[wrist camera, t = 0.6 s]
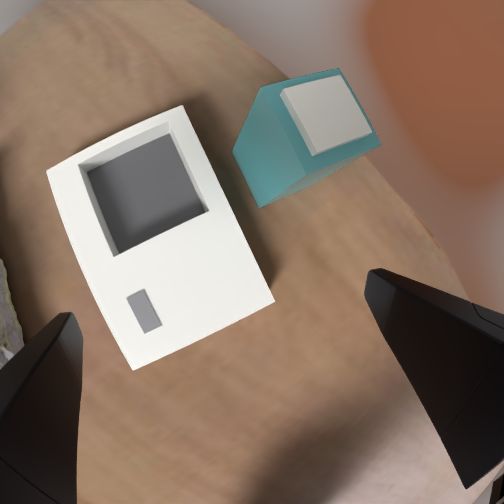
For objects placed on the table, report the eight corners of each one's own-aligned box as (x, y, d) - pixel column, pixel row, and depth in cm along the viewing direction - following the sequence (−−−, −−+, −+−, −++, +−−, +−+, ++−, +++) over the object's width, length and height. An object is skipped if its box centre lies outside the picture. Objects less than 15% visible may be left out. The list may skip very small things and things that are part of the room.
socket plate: (265, 297, 22) (275, 301, 20) (138, 358, 21) (132, 371, 18) (182, 120, 22) (182, 104, 19) (59, 179, 20) (45, 170, 17)
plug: (312, 184, 23) (388, 141, 14) (259, 208, 22) (311, 171, 13) (285, 131, 23) (343, 62, 13) (231, 152, 22) (263, 80, 12)
